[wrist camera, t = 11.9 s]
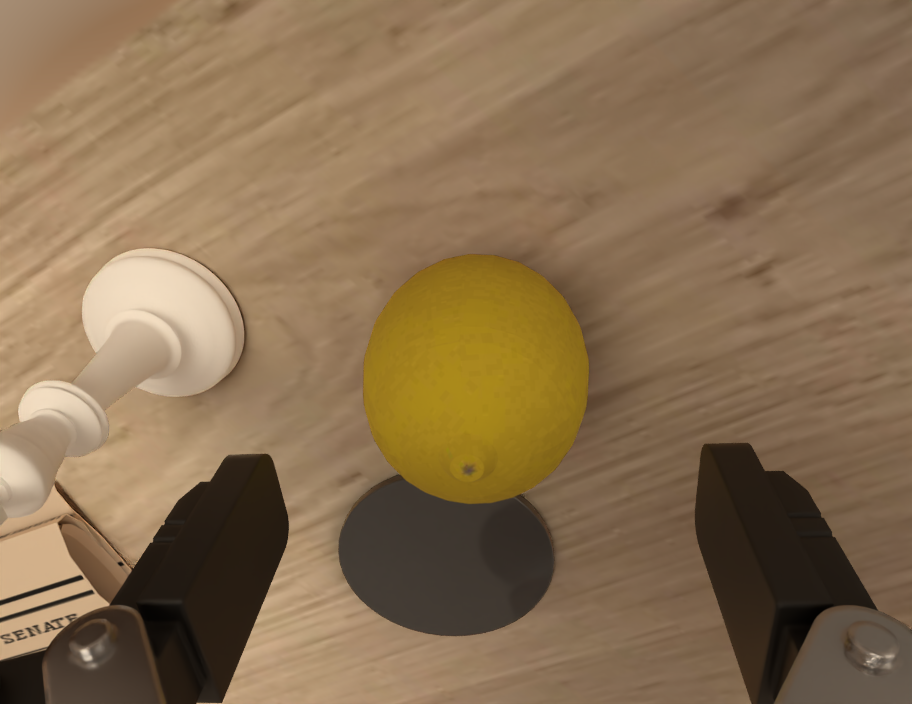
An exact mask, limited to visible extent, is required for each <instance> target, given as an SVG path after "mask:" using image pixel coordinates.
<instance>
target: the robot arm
mask: <svg viewBox="0 0 912 704" xmlns="http://www.w3.org/2000/svg"><path fill="white" fill-rule="evenodd" d="M695 527H696V534H697V540H698V544H699V547H700V550H701V553H702V556H703V559H704V562H705V565H706V568H707V571H708V574H709V577H710V580H711V583H712V586H713V589H714V592H715V595H716V598H717V601H718V604H719V607H720V610H721V613H722V616H723V619H724V622H725V625H726V628H727V631H728V634H729V637H730V640H731V643H732V646H733V649H734V652H735V655H736V658H737V661H738V664H739V667H740V670H741V673H742V676H743V679H744V682H745V685H746V688H747V691H748V694H749V697H750V700H751V703H752V704H912V630H911V629H909V628H908V627H907V626H906V625H904V624H903V623H901V622H900V621H898V620H896V619H895V618H893V617H891V616H889V615H887V614H885V613H882V612H880V611H878V610H877V608H876V606H875V605H874V603H873V601H872V600H871V598H870V596H869V594H868V593H867V591H866V589H865V588H864V586H863V584H862V582H861V581H860V579H859V577H858V576H857V574H856V572H855V571H854V569H853V567H852V565H851V564H850V562H849V560H848V559H847V557H846V555H845V554H844V552H843V550H842V548H841V547H840V545H839V543H838V542H837V540H836V538H835V537H832V531H831V530H830V528H829V526H828V525H827V523H826V521H825V519H824V518H821V513H820V511H819V509H818V508H817V506H816V504H815V502H814V501H813V499H812V497H811V496H810V494H809V492H808V491H807V490H806V489H805V488H804V487H803V486H801V485H800V484H799V483H798V482H796V481H795V480H794V479H793V478H791V477H790V476H789V475H788V474H786V473H785V472H784V471H764V469H763V467H762V465H761V463H760V461H759V459H758V457H757V455H756V453H755V452H754V450H753V448H752V446H751V445H750V444H749V443H719V444H704V445H703V447H702V450H701V457H700V467H699V476H698V486H697V495H696V505H695ZM288 532H289V521H288V514H287V510H286V507H285V503H284V499H283V496H282V492H281V488H280V484H279V481H278V477H277V473H276V470H275V466H274V463H273V460H272V458H271V457H270V455H268V454H242V455H228V456H227V457H226V458H225V459H224V460H223V462H222V463H221V465H220V467H219V468H218V470H217V471H216V473H215V475H214V476H213V478H212V479H211V481H210V482H200V483H199V484H198V485H196V486H195V487H194V488H193V489H191V490H190V491H189V492H188V493H187V494H185V495H184V496H183V497H182V498H181V499H179V500H178V502H177V503H176V505H175V506H174V508H173V509H172V511H171V512H170V514H169V515H168V517H167V518H166V520H165V525H162V526H161V527H160V529H159V530H158V532H157V533H156V535H155V536H154V538H153V543H150V544H149V546H148V547H147V549H146V550H145V552H144V553H143V555H142V556H141V558H140V559H139V561H138V562H137V564H136V565H135V567H134V568H133V570H132V571H131V573H130V574H129V576H128V577H127V579H126V580H125V582H124V584H123V585H122V587H121V588H120V590H119V591H118V593H117V594H116V596H115V597H114V599H113V600H112V602H111V603H110V605H109V606H106V607H102V608H98V609H95V610H93V611H90V612H88V613H86V614H84V615H82V616H80V617H79V618H77V619H75V620H74V621H72V622H71V623H70V624H68V625H67V626H66V627H65V628H63V629H62V630H61V631H60V632H59V633H58V634H57V635H56V637H55V638H54V639H53V640H52V641H51V643H50V644H49V646H48V647H47V649H46V650H43V651H39V652H35V653H31V654H28V655H24V656H20V657H16V658H13V659H9V660H5V661H1V662H0V704H196V703H222V702H223V699H224V697H225V694H226V692H227V689H228V687H229V685H230V682H231V680H232V677H233V675H234V672H235V670H236V667H237V665H238V663H239V660H240V658H241V655H242V653H243V650H244V648H245V646H246V643H247V641H248V638H249V636H250V633H251V631H252V628H253V626H254V624H255V621H256V619H257V616H258V614H259V611H260V609H261V607H262V604H263V602H264V599H265V597H266V594H267V592H268V589H269V587H270V585H271V582H272V580H273V577H274V575H275V572H276V570H277V568H278V565H279V563H280V560H281V558H282V555H283V553H284V551H285V548H286V545H287V540H288Z"/></svg>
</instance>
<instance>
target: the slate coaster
mask: <svg viewBox="0 0 912 704" xmlns="http://www.w3.org/2000/svg"><path fill="white" fill-rule="evenodd" d="M338 553H339V560H340V565H341V568H342V571H343V574H344V576H345V578H346V580H347V582H348V584H349V585H350V587H351V588H352V590H353V591H354V592H355V594H356V595H357V596H358V597H359V598H360V599H361V600H362V601H363V602H364V603H365V604H366V605H367V606H368V607H369V608H371V609H372V610H373V611H375V612H376V613H378V614H379V615H380V616H382V617H384V618H386V619H388V620H389V621H391V622H393V623H396V624H398V625H400V626H403V627H405V628H408V629H411V630H414V631H418V632H423V633H427V634H433V635H441V636H468V635H476V634H482V633H486V632H490V631H494V630H496V629H499V628H502V627H505V626H507V625H509V624H511V623H513V622H515V621H517V620H518V619H520V618H521V617H523V616H524V615H526V614H527V613H528V612H529V611H530V610H532V609H533V608H534V607H535V606H536V605H537V603H538V602H539V601H540V600H541V599H542V597H543V596H544V594H545V593H546V591H547V589H548V587H549V584H550V582H551V579H552V575H553V571H554V550H553V542H552V539H551V535H550V532H549V530H548V528H547V526H546V524H545V522H544V520H543V519H542V517H541V516H540V515H539V513H538V512H537V511H536V509H535V508H534V507H533V506H532V505H531V504H530V503H529V502H528V501H527V500H526V499H524V498H523V497H522V496H521V495H520V494H519V495H517V496H515V497H513V498H509V499H505V500H501V501H497V502H493V503H479V504H465V503H459V502H453V501H447V500H444V499H442V498H439V497H436V496H433V495H431V494H428V493H425V492H424V491H422V490H420V489H419V488H417V487H416V486H414V485H412V484H411V483H409V482H408V481H406V480H405V479H404V478H403V477H402V476H401V475H397V476H394V477H392V478H390V479H387V480H385V481H383V482H381V483H379V484H378V485H376V486H374V487H373V488H371V489H370V490H369V491H367V492H366V493H365V494H364V495H363V496H361V497H360V498H359V500H358V501H357V502H356V503H355V504H354V505H353V507H352V508H351V510H350V511H349V513H348V514H347V516H346V519H345V521H344V524H343V526H342V530H341V533H340V538H339V548H338Z"/></svg>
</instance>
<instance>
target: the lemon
mask: <svg viewBox="0 0 912 704" xmlns="http://www.w3.org/2000/svg"><path fill="white" fill-rule="evenodd" d="M588 379H589V360H588V355H587V351H586V347H585V343H584V339H583V335H582V332H581V328H580V325H579V323H578V321H577V319H576V318H575V316H574V314H573V313H572V311H571V309H570V307H569V306H568V304H567V302H566V301H565V299H564V297H563V296H562V295H561V294H560V293H559V292H558V291H557V290H556V289H555V288H554V287H553V286H552V285H551V284H550V283H549V282H548V281H547V280H546V279H545V278H544V277H543V276H542V275H540V274H539V273H537V272H535V271H533V270H532V269H530V268H528V267H526V266H524V265H523V264H521V263H519V262H516V261H513V260H509V259H506V258H502V257H499V256H495V255H477V254H467V255H462V256H458V257H453V258H448V259H444V260H442V261H440V262H438V263H436V264H433V265H431V266H429V267H427V268H425V269H423V270H421V271H419V272H418V273H416V274H415V275H414V276H413V277H412V278H411V279H409V280H408V281H407V282H406V283H405V284H404V285H402V286H401V287H400V288H399V289H398V290H397V291H396V292H395V293H394V294H393V296H392V297H391V299H390V300H389V302H388V303H387V305H386V306H385V308H384V309H383V311H382V312H381V314H380V315H379V317H378V318H377V320H376V322H375V324H374V328H373V331H372V334H371V337H370V340H369V344H368V347H367V350H366V354H365V359H364V379H363V399H364V406H365V411H366V415H367V418H368V422H369V425H370V429H371V432H372V435H373V438H374V440H375V442H376V444H377V445H378V447H379V449H380V450H381V452H382V453H383V455H384V457H385V458H386V460H387V461H388V462H389V464H390V465H391V466H392V467H393V468H394V469H395V470H396V471H397V472H398V473H399V474H400V475H401V476H402V477H403V478H404V479H405V480H406V481H408V482H409V483H411V484H412V485H414V486H416V487H417V488H419V489H420V490H422V491H424V492H425V493H428V494H431V495H433V496H436V497H439V498H442V499H444V500H447V501H453V502H459V503H465V504H479V503H493V502H497V501H501V500H505V499H509V498H513V497H515V496H517V495H519V494H521V493H523V492H525V491H527V490H529V489H531V488H533V487H534V486H536V485H537V484H538V483H540V482H541V481H542V480H543V479H544V478H546V477H547V476H548V475H549V474H550V473H552V472H553V471H554V470H555V469H556V468H557V466H558V465H559V464H560V462H561V461H562V459H563V458H564V456H565V455H566V454H567V452H568V451H569V449H570V448H571V446H572V445H573V443H574V440H575V438H576V435H577V433H578V430H579V427H580V424H581V421H582V419H583V416H584V412H585V409H586V405H587V398H588Z"/></svg>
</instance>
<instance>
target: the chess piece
mask: <svg viewBox="0 0 912 704" xmlns="http://www.w3.org/2000/svg"><path fill="white" fill-rule="evenodd" d="M82 319H83V325H84V329H85V332H86V335H87V337H88V340H89V342H90V344H91V346H92V348H93V349H94V351H95V352H96V355H95V356H94V357H93V358H92V360H91V361H90V362H89V363H88V364H87V366H86V367H85V368H84V369H83V370H82V372H81V373H80V374H79V375H78V376H77V377H76V378H75V380H74V381H73V382H72V383H68V382H64V381H59V380H46V381H41V382H38V383H36V384H34V385H32V386H31V387H30V388H29V389H28V390H27V391H26V392H25V394H24V396H23V398H22V399H21V401H20V404H19V408H18V414H19V419H20V422H19V423H16V424H14V425H12V426H10V427H8V428H6V429H3V430H1V431H0V526H1V525H2V524H3V523H4V522H5V521H6V520H7V519H8V518H19V517H25V516H28V515H31V514H33V513H35V512H36V511H38V510H39V509H40V508H41V507H42V506H43V505H44V503H45V502H46V500H47V499H48V497H49V495H50V492H51V490H52V487H53V485H54V481H55V477H56V474H57V471H58V469H59V467H60V465H61V464H62V462H63V460H64V457H81V456H85V455H87V454H90V453H91V452H93V451H96V450H97V449H99V448H100V447H101V446H102V445H103V444H104V443H105V442H106V440H107V438H108V435H109V421H108V418H107V415H106V413H105V410H106V409H107V408H108V407H110V406H111V405H112V404H113V403H114V402H116V401H117V400H119V399H120V398H121V397H123V396H124V395H125V394H127V393H128V392H129V391H131V390H132V389H134V388H135V387H137V388H139V389H141V390H144V391H146V392H149V393H153V394H157V395H162V396H169V397H183V396H190V395H195V394H198V393H201V392H204V391H206V390H208V389H210V388H211V387H213V386H214V385H216V384H217V383H218V382H219V381H220V380H221V379H223V378H224V377H226V376H227V375H228V374H229V373H230V372H231V371H232V370H233V368H234V367H235V365H236V364H237V362H238V360H239V358H240V356H241V353H242V350H243V345H244V325H243V320H242V316H241V313H240V311H239V308H238V306H237V304H236V302H235V300H234V298H233V296H232V295H231V293H230V292H229V290H228V289H227V288H226V286H225V285H224V284H223V283H222V282H221V281H220V280H219V279H218V278H217V277H216V276H215V275H214V274H213V273H212V272H211V271H209V270H208V269H207V268H206V267H204V266H203V265H201V264H200V263H198V262H196V261H194V260H193V259H191V258H189V257H186V256H184V255H182V254H179V253H176V252H173V251H169V250H164V249H156V248H142V249H135V250H131V251H127V252H124V253H122V254H120V255H118V256H116V257H114V258H113V259H111V260H110V261H109V262H107V263H106V264H105V265H104V266H103V267H102V268H101V270H100V271H99V272H98V273H97V274H96V275H95V276H94V277H93V278H92V280H91V281H90V283H89V285H88V287H87V289H86V291H85V294H84V297H83V303H82Z"/></svg>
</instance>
